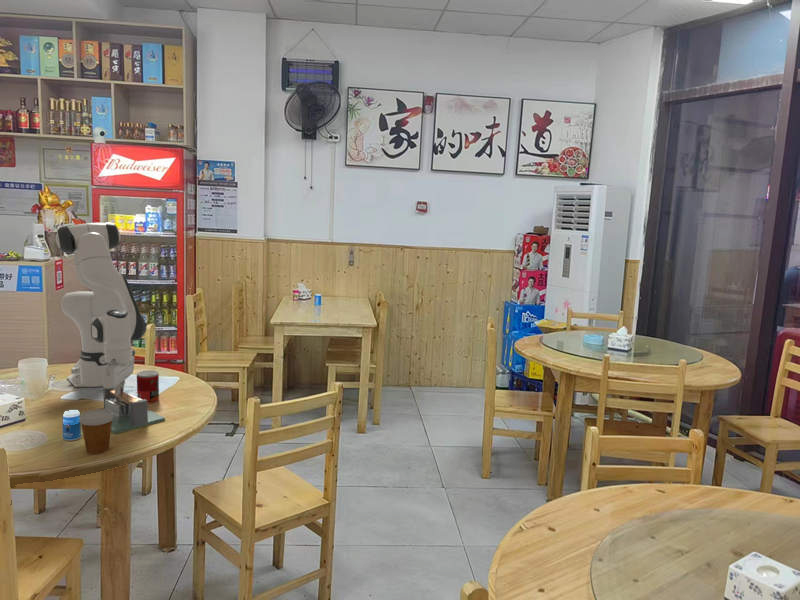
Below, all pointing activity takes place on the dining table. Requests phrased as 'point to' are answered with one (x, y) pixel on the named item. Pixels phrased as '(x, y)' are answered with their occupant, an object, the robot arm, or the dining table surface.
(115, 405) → the heatsink
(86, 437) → the disposable coffee cup
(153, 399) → the canned food
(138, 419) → the board
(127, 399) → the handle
